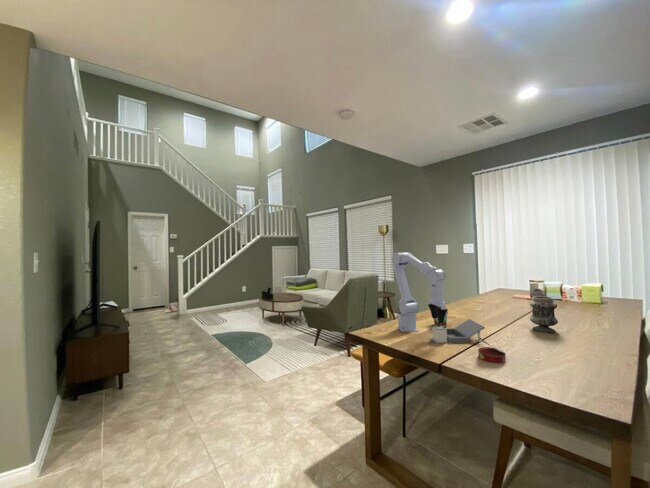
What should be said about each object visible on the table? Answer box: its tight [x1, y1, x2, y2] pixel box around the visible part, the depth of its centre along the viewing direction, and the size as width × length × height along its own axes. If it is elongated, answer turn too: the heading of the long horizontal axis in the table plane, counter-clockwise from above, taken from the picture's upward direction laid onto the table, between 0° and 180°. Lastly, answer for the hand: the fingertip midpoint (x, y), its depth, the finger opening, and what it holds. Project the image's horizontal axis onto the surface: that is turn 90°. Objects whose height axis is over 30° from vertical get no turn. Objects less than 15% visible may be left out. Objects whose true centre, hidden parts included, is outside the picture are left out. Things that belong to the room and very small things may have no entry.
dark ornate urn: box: [529, 295, 559, 334], centre depth 150 cm, size 12×12×18 cm
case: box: [445, 318, 486, 344], centre depth 141 cm, size 17×14×7 cm
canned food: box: [477, 337, 507, 364], centre depth 116 cm, size 11×10×10 cm
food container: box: [433, 310, 449, 329], centre depth 161 cm, size 12×6×10 cm, turn 179°
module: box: [431, 326, 448, 343], centre depth 137 cm, size 5×5×6 cm
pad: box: [428, 337, 449, 345], centre depth 137 cm, size 7×7×1 cm
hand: (437, 320), depth 139 cm, fingers open, 7 cm apart
